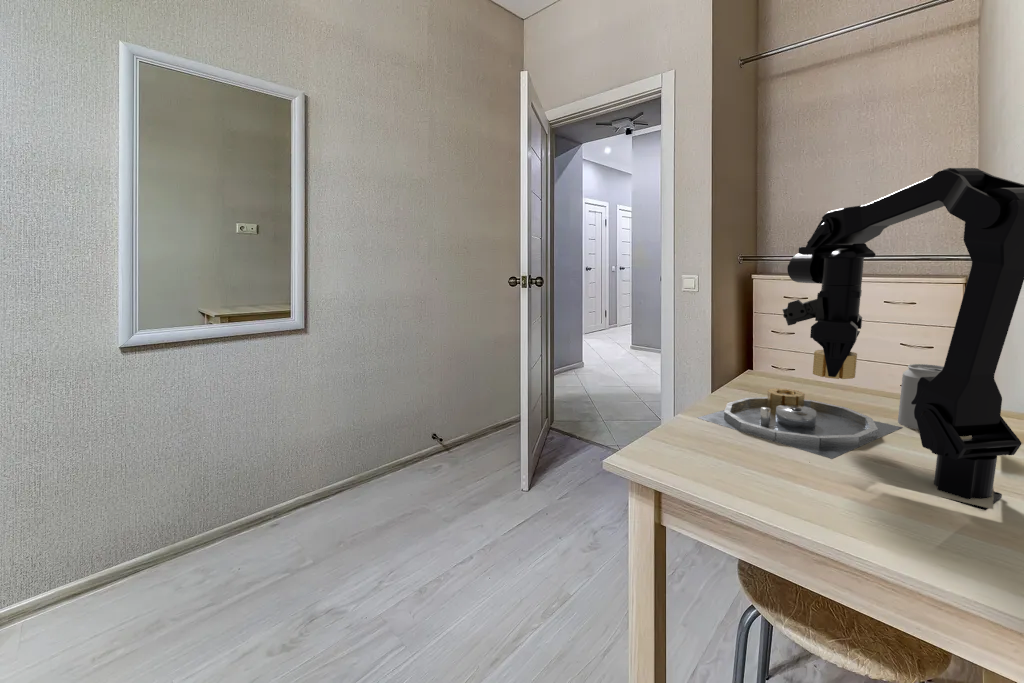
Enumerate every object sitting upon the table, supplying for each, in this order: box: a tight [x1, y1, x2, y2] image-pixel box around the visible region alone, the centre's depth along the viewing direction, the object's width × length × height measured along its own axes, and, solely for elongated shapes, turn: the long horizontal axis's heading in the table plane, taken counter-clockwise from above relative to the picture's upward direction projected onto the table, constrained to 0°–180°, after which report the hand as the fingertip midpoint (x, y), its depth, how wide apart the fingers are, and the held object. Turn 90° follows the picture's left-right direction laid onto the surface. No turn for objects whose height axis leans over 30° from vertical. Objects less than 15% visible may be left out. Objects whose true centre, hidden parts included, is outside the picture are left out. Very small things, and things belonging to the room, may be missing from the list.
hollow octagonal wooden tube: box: [812, 349, 858, 380], centre depth 86 cm, size 6×6×4 cm
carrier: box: [696, 394, 904, 460], centre depth 92 cm, size 25×25×4 cm
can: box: [897, 363, 944, 431], centre depth 88 cm, size 8×8×12 cm
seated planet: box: [766, 387, 806, 414], centre depth 99 cm, size 6×6×4 cm
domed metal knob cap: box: [775, 405, 816, 428], centre depth 92 cm, size 7×7×3 cm
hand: (833, 372), depth 86 cm, fingers closed on hollow octagonal wooden tube, 6 cm apart
